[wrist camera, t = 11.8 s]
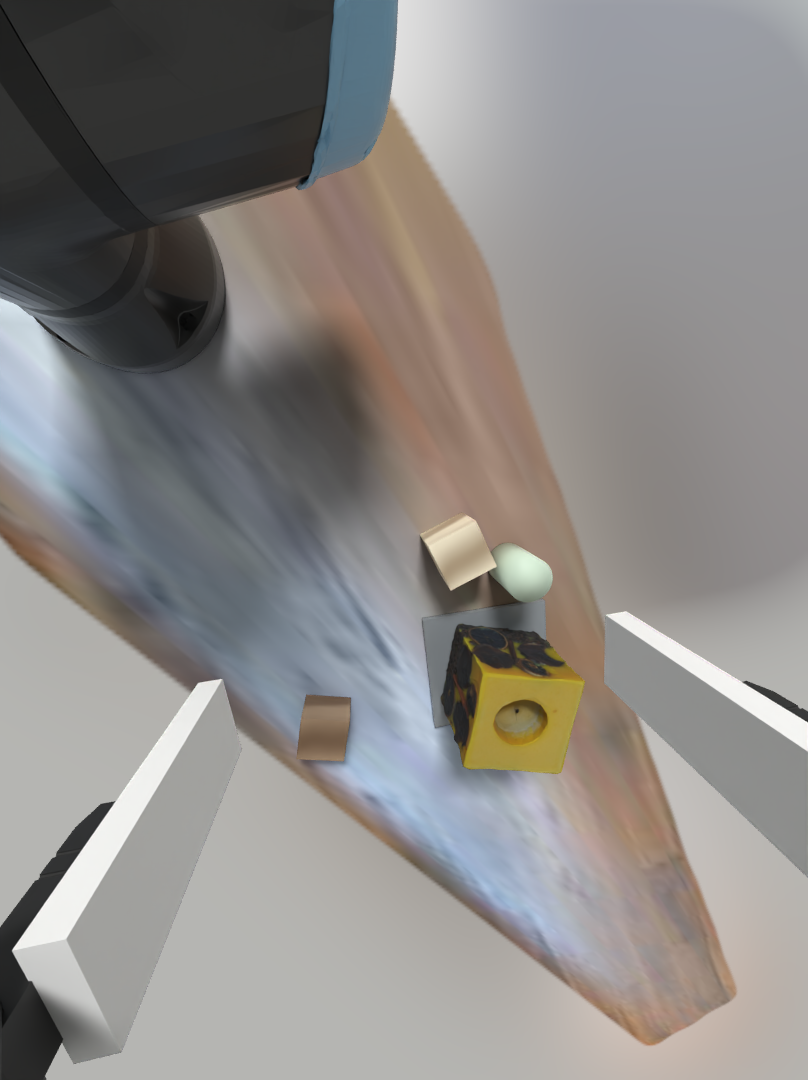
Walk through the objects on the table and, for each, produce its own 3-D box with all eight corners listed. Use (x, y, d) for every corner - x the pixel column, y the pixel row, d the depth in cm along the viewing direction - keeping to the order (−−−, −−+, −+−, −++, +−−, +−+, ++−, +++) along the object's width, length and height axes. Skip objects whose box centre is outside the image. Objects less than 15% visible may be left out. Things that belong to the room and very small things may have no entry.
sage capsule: (485, 545, 40) (506, 562, 35) (524, 540, 41) (552, 555, 35) (488, 583, 41) (509, 605, 36) (526, 577, 42) (552, 598, 36)
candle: (519, 706, 45) (563, 776, 35) (438, 701, 44) (460, 773, 34) (539, 629, 43) (591, 682, 33) (454, 621, 41) (483, 673, 32)
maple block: (419, 534, 39) (428, 546, 34) (461, 512, 39) (476, 521, 34) (439, 573, 41) (450, 590, 36) (480, 552, 41) (496, 566, 36)
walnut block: (306, 693, 42) (301, 718, 38) (350, 697, 43) (349, 721, 39) (302, 731, 43) (296, 759, 39) (345, 733, 44) (343, 761, 40)
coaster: (422, 618, 41) (422, 620, 41) (542, 598, 43) (544, 600, 42) (434, 723, 45) (435, 727, 44) (545, 703, 46) (547, 706, 45)
